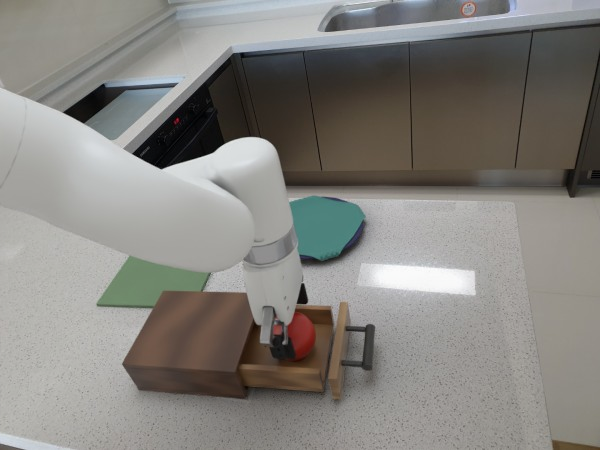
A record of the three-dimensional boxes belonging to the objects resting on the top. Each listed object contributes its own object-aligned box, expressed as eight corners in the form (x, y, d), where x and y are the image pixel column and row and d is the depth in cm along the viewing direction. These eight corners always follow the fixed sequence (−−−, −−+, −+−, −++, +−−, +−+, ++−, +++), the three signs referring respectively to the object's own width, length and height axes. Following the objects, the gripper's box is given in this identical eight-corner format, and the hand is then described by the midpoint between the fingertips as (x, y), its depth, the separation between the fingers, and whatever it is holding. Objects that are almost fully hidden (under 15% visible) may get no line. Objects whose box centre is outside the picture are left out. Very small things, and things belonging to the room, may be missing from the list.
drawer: (377, 323, 72) (375, 302, 69) (372, 402, 61) (369, 381, 59) (252, 318, 77) (245, 298, 74) (228, 390, 67) (219, 370, 64)
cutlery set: (336, 277, 82) (335, 267, 81) (209, 239, 97) (206, 230, 95) (380, 214, 95) (379, 205, 94) (261, 188, 109) (260, 180, 108)
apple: (314, 372, 65) (306, 339, 61) (268, 369, 67) (256, 336, 62) (322, 333, 71) (315, 299, 66) (278, 331, 72) (268, 298, 68)
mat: (193, 309, 82) (192, 307, 82) (97, 306, 87) (95, 303, 87) (227, 237, 97) (227, 235, 97) (144, 238, 102) (143, 236, 102)
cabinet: (270, 320, 77) (262, 292, 73) (246, 399, 66) (235, 372, 62) (175, 316, 81) (163, 290, 77) (138, 390, 70) (121, 364, 66)
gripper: (254, 197, 63) (279, 284, 73) (214, 290, 50) (251, 379, 60) (308, 195, 61) (325, 284, 72) (279, 291, 48) (306, 383, 59)
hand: (291, 328), depth 66 cm, fingers open, 9 cm apart
